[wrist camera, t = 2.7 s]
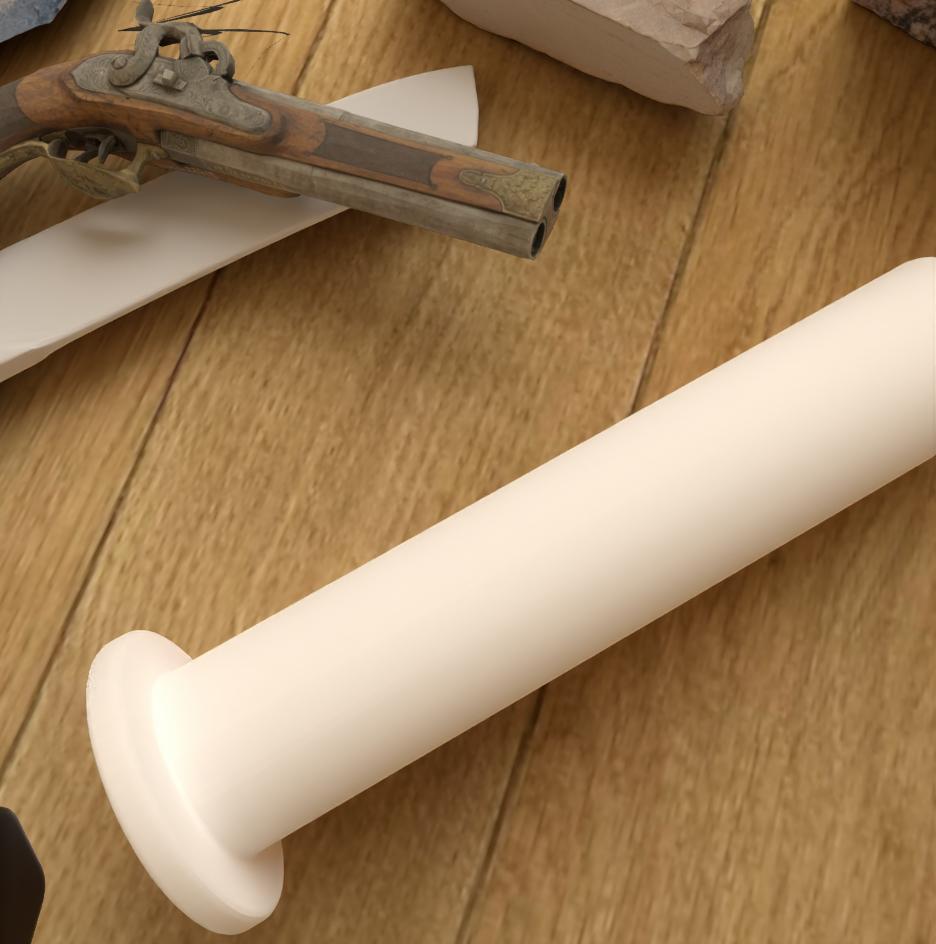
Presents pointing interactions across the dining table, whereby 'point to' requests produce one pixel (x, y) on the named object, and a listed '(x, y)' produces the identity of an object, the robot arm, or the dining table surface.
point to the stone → (635, 42)
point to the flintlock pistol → (262, 142)
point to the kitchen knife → (185, 229)
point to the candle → (501, 597)
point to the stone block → (908, 16)
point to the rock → (26, 15)
